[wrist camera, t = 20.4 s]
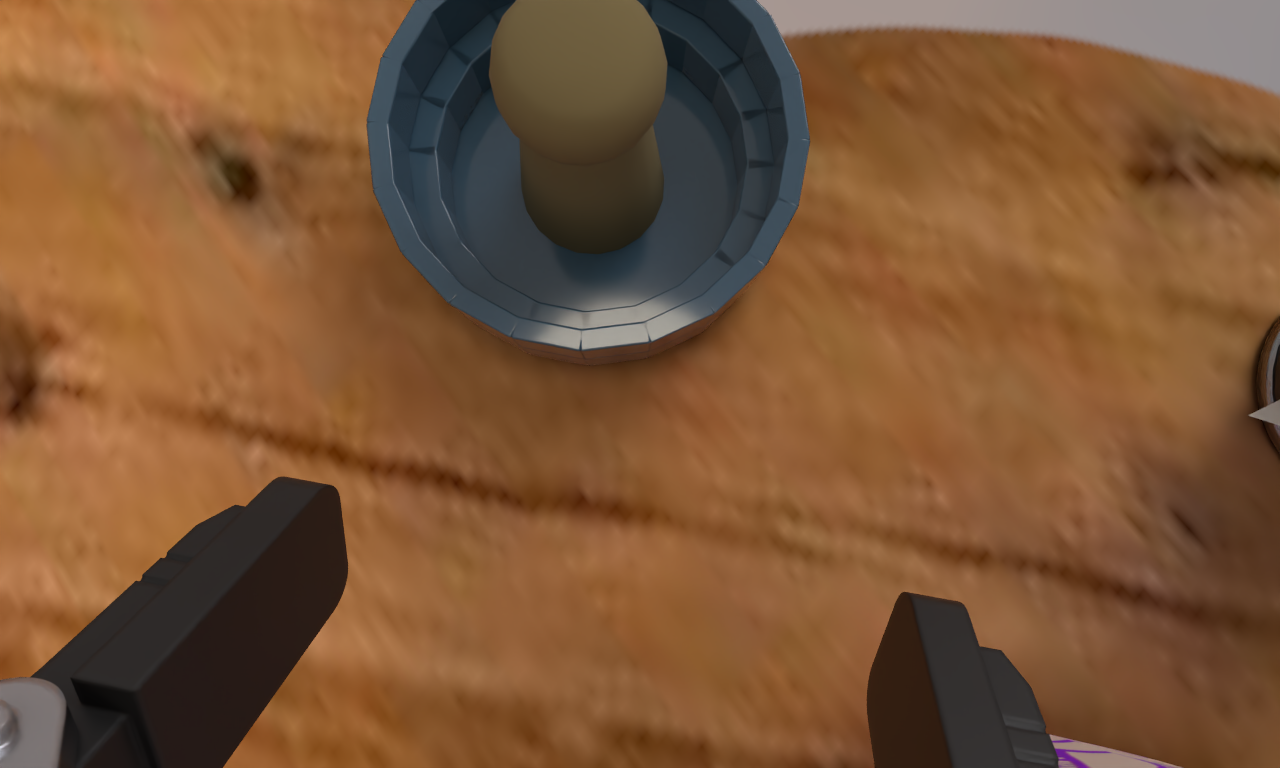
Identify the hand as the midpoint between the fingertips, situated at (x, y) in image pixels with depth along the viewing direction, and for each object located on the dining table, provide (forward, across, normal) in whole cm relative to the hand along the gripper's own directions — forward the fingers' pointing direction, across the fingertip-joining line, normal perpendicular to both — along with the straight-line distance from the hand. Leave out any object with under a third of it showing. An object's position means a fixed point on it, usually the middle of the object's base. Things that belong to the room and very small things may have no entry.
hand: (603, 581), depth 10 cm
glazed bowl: (+23, +5, 0) cm, 24 cm away
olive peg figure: (+23, +5, 0) cm, 23 cm away
